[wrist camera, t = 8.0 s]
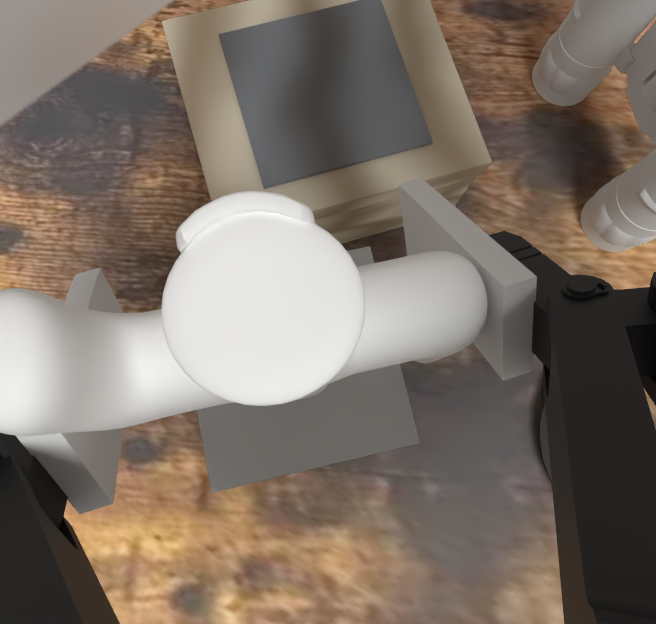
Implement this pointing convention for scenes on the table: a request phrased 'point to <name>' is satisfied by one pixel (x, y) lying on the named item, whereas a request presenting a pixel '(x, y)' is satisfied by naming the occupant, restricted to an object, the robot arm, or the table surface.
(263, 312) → the figurine
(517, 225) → the table surface
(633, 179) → the binoculars
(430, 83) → the bridge shelf
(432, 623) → the table surface
